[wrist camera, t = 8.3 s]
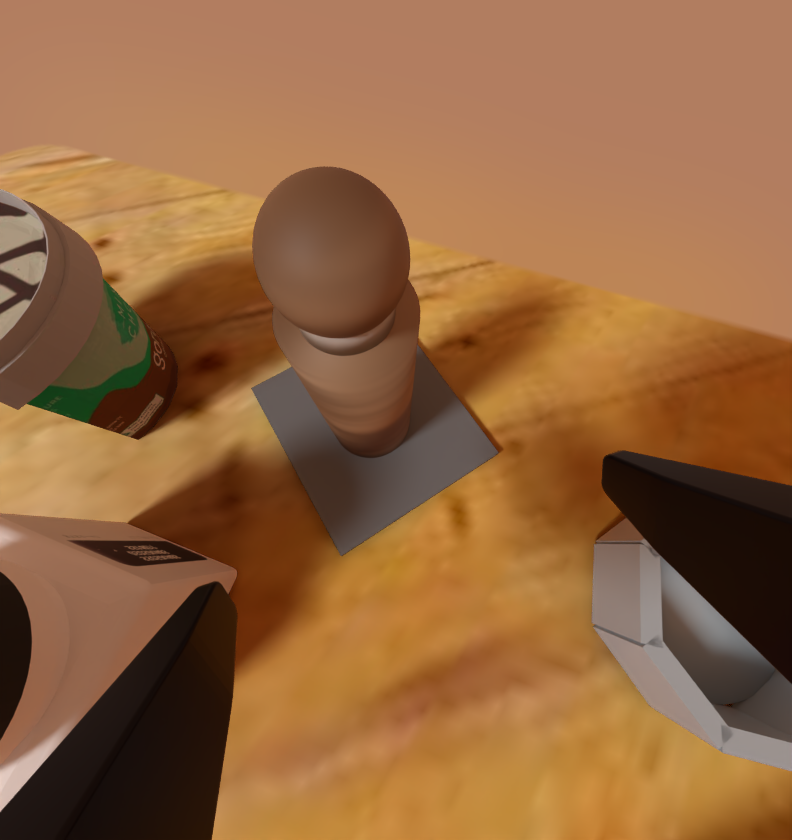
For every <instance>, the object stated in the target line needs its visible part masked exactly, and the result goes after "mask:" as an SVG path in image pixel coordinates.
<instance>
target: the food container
mask: <svg viewBox="0 0 792 840" xmlns="http://www.w3.org/2000/svg"><path fill="white" fill-rule="evenodd" d="M177 373H178V366H177V363H176V360H175V357H174V354H173V352H172V351H171V349H170V348H169V346H168V345H167V344H166V343H165V342H164V341H163V340H162V339H161V338H160V337H159V336H158V335H157V334H156V333H155V332H154V331H153V330H152V329H151V328H150V327H149V326H148V325H147V323H146V322H145V321H144V320H143V319H142V318H141V317H140V316H139V315H138V314H137V313H136V312H135V311H134V310H133V309H132V308H131V307H130V306H129V305H128V304H127V303H126V302H125V301H124V300H123V299H122V298H121V297H120V295H119V294H118V293H117V292H116V291H115V290H114V289H113V288H112V287H111V286H110V285H109V284H108V283H107V282H106V281H105V280H104V279H103V277H102V269H101V266H100V264H99V261H98V258H97V256H96V254H95V253H94V251H93V250H92V248H91V247H90V245H89V244H88V243H87V242H86V241H85V240H84V239H83V238H82V237H81V236H80V235H79V234H78V233H76V232H75V231H73V230H72V229H70V228H69V227H68V226H66V225H65V224H63V223H62V222H60V221H59V220H57V219H56V218H54V217H53V216H51V215H50V214H49V213H47V212H46V211H44V210H42V209H41V208H39V207H37V206H36V205H34V204H33V203H30V202H27V201H25V200H22V199H20V198H18V197H17V196H15V195H14V194H12V193H9V192H7V191H4V190H1V189H0V402H2V403H4V404H6V405H8V406H11V407H13V408H15V409H17V410H19V409H20V408H21V407H23V406H24V405H25V404H29V405H32V406H35V407H38V408H41V409H44V410H48V411H51V412H54V413H57V414H60V415H63V416H66V417H69V418H72V419H75V420H79V421H82V422H85V423H88V424H91V425H94V426H97V427H100V428H103V429H106V430H110V431H113V432H116V433H119V434H122V435H125V436H128V437H131V438H134V439H137V440H139V439H140V438H141V437H142V436H143V435H145V434H146V433H147V432H148V431H149V430H151V429H152V428H153V427H154V426H155V424H156V423H157V422H158V421H159V419H160V418H161V417H162V415H163V414H164V413H165V411H166V410H167V409H168V407H169V405H170V403H171V400H172V398H173V395H174V392H175V390H176V387H177Z"/></svg>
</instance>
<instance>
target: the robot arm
mask: <svg viewBox="0 0 792 840" xmlns="http://www.w3.org/2000/svg"><path fill="white" fill-rule="evenodd" d="M602 487H603V490H604V491H605V493H606V494H607V495H608V497H609V498H610V499H611V500H612V501H613V503H614V504H615V505H616V506H617V507H618V508H619V510H620V511H621V512H622V513H623V514H624V515H625V517H626V518H627V519H628V520H629V521H630V522H631V524H632V525H633V526H634V527H635V528H636V530H637V531H638V532H639V533H640V534H641V535H642V537H643V538H644V539H645V540H646V541H647V542H648V543H649V544H650V545H651V547H652V548H653V549H654V550H655V551H656V552H657V553H658V554H659V555H660V556H661V557H662V558H663V559H664V560H665V561H666V562H667V563H668V564H669V565H670V566H671V567H672V568H673V569H674V570H676V571H677V572H678V573H679V574H680V575H681V576H682V577H683V578H684V579H685V580H686V581H687V582H688V583H689V584H690V585H691V586H692V587H693V588H694V589H695V590H696V591H697V592H698V593H699V594H700V595H701V596H702V597H703V598H704V599H705V600H706V601H707V602H708V603H709V604H710V605H711V606H712V607H713V608H714V609H715V610H716V611H717V612H718V613H719V614H720V615H721V616H722V617H723V618H724V619H725V620H727V621H728V622H729V623H730V624H731V625H732V626H733V627H734V628H735V629H736V630H737V631H738V632H739V633H740V634H741V635H742V636H743V637H744V638H745V639H746V640H747V641H748V642H749V643H750V644H751V645H752V646H753V647H754V648H755V649H756V650H757V651H758V652H759V653H760V654H761V655H762V656H763V657H764V658H765V659H766V660H767V661H768V662H769V663H770V664H771V665H772V666H773V667H774V668H775V669H776V670H777V671H779V672H780V673H781V674H782V675H783V676H784V677H785V678H786V679H787V680H788V681H789V682H790V683H791V684H792V486H790V485H785V484H781V483H776V482H771V481H766V480H762V479H757V478H752V477H747V476H743V475H738V474H733V473H728V472H724V471H719V470H714V469H709V468H705V467H700V466H695V465H691V464H686V463H681V462H676V461H672V460H667V459H662V458H657V457H653V456H648V455H643V454H638V453H634V452H629V451H617V452H614V453H611V454H608V455H606V456H605V457H604V459H603V467H602ZM236 632H237V610H236V607H235V604H234V603H233V601H232V599H231V598H230V596H229V595H228V593H227V592H226V590H225V588H224V587H223V585H222V584H221V583H220V582H218V581H213V582H210V583H207V584H204V585H201V586H199V587H197V588H196V589H195V590H194V591H193V592H192V593H191V594H190V595H189V596H188V597H187V599H186V600H185V601H184V602H183V603H182V604H181V605H180V607H179V608H178V609H177V610H176V611H175V612H174V613H173V615H172V616H171V617H170V618H169V619H168V620H167V621H166V623H165V624H164V625H163V626H162V627H161V628H160V629H159V631H158V632H157V633H156V634H155V635H154V636H153V637H152V639H151V640H150V641H149V642H148V643H147V644H146V645H145V647H144V648H143V649H142V650H141V651H140V652H139V654H138V655H137V656H136V657H135V658H134V659H133V660H132V662H131V663H130V664H129V665H128V666H127V667H126V668H125V670H124V671H123V672H122V673H121V674H120V675H119V676H118V678H117V679H116V680H115V681H114V682H113V683H112V684H111V686H110V687H109V688H108V689H107V690H106V691H105V692H104V694H103V695H102V696H101V697H100V698H99V699H98V700H97V702H96V703H95V704H94V705H93V706H92V707H91V709H90V710H89V711H88V712H87V713H86V714H85V715H84V717H83V718H82V719H81V720H80V721H79V722H78V723H77V725H76V726H75V727H74V728H73V729H72V730H71V731H70V733H69V734H68V735H67V736H66V737H65V738H64V739H63V741H62V742H61V743H60V744H59V745H58V746H57V747H56V749H55V750H54V751H53V752H52V753H51V754H50V755H49V757H48V758H47V759H46V760H45V761H44V762H43V763H42V765H41V766H40V767H39V768H38V769H37V770H36V771H35V773H34V774H33V775H32V776H31V777H30V778H29V779H28V781H27V782H26V783H25V784H24V785H23V786H22V787H21V789H20V790H19V791H18V792H17V793H16V794H15V795H14V797H13V798H12V799H11V800H10V801H9V802H8V803H7V805H6V806H5V807H4V808H3V809H2V810H1V812H0V840H212V834H213V827H214V820H215V814H216V807H217V801H218V794H219V787H220V781H221V774H222V767H223V761H224V754H225V747H226V741H227V734H228V727H229V721H230V714H231V707H232V699H233V688H234V671H235V652H236Z"/></svg>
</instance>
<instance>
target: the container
mask: <svg viewBox="0 0 792 840" xmlns="http://www.w3.org/2000/svg"><path fill="white" fill-rule="evenodd" d="M236 577H237V570H236V569H234V568H233V567H231V566H228V565H226V564H223V563H221V562H219V561H216V560H214V559H211V558H209V557H207V556H204V555H202V554H199V553H197V552H195V551H192V550H190V549H187V548H185V547H183V546H180V545H178V544H175V543H173V542H171V541H168V540H166V539H163V538H161V537H158V536H156V535H154V534H151V533H149V532H146V531H144V530H142V529H139V528H137V527H134V526H132V525H130V524H127V523H123V522H110V521H96V520H83V519H69V518H56V517H42V516H29V515H15V514H2V513H0V812H1V810H2V809H3V808H4V807H5V806H6V805H7V803H8V802H9V801H10V800H11V799H12V798H13V797H14V795H15V794H16V793H17V792H18V791H19V790H20V789H21V787H22V786H23V785H24V784H25V783H26V782H27V781H28V779H29V778H30V777H31V776H32V775H33V774H34V773H35V771H36V770H37V769H38V768H39V767H40V766H41V765H42V763H43V762H44V761H45V760H46V759H47V758H48V757H49V755H50V754H51V753H52V752H53V751H54V750H55V749H56V747H57V746H58V745H59V744H60V743H61V742H62V741H63V739H64V738H65V737H66V736H67V735H68V734H69V733H70V731H71V730H72V729H73V728H74V727H75V726H76V725H77V723H78V722H79V721H80V720H81V719H82V718H83V717H84V715H85V714H86V713H87V712H88V711H89V710H90V709H91V707H92V706H93V705H94V704H95V703H96V702H97V700H98V699H99V698H100V697H101V696H102V695H103V694H104V692H105V691H106V690H107V689H108V688H109V687H110V686H111V684H112V683H113V682H114V681H115V680H116V679H117V678H118V676H119V675H120V674H121V673H122V672H123V671H124V670H125V668H126V667H127V666H128V665H129V664H130V663H131V662H132V660H133V659H134V658H135V657H136V656H137V655H138V654H139V652H140V651H141V650H142V649H143V648H144V647H145V645H146V644H147V643H148V642H149V641H150V640H151V639H152V637H153V636H154V635H155V634H156V633H157V632H158V631H159V629H160V628H161V627H162V626H163V625H164V624H165V623H166V621H167V620H168V619H169V618H170V617H171V616H172V615H173V613H174V612H175V611H176V610H177V609H178V608H179V607H180V605H181V604H182V603H183V602H184V601H185V600H186V599H187V597H188V596H189V595H190V594H191V593H192V592H193V591H194V590H195V589H196V588H197V587H199V586H201V585H204V584H207V583H210V582H213V581H218V582H220V583H221V584H222V585H223V587H224V588H225V590H226V592H227V593H228V594H229V592H230V590H231V588H232V586H233V584H234V582H235V579H236Z"/></svg>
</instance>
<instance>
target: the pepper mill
mask: <svg viewBox="0 0 792 840" xmlns="http://www.w3.org/2000/svg"><path fill="white" fill-rule="evenodd" d="M252 248H253V260H254V265H255V269H256V273H257V276H258V279H259V282H260V284H261V286H262V288H263V290H264V292H265V294H266V296H267V297H268V299H269V300H270V302H271V303H272V305H273V306H274V308H273V313H272V325H273V331H274V335H275V338H276V341H277V343H278V345H279V347H280V348H281V350H282V352H283V353H284V355H285V356H286V358H287V360H288V361H289V363H290V364H291V366H292V368H293V369H294V371H295V372H296V374H297V376H298V377H299V379H300V380H301V382H302V384H303V385H304V387H305V388H306V390H307V392H308V393H309V395H310V396H311V398H312V400H313V401H314V403H315V404H316V406H317V408H318V409H319V411H320V412H321V414H322V416H323V417H324V419H325V420H326V422H327V424H328V425H329V427H330V428H331V430H332V432H333V433H334V435H335V436H336V438H337V440H338V441H339V443H340V444H341V445H342V446H343V447H344V448H345V449H346V450H347V451H349V452H350V453H352V454H354V455H356V456H359V457H364V458H377V457H382V456H384V455H387V454H389V453H391V452H392V451H394V450H395V449H396V448H397V447H399V446H400V444H401V443H402V442H403V440H404V439H405V437H406V435H407V432H408V429H409V423H410V413H411V403H412V393H413V383H414V373H415V363H416V354H417V344H418V334H419V324H420V305H419V300H418V297H417V294H416V292H415V290H414V288H413V286H412V284H411V283H410V281H409V280H408V276H409V270H410V248H409V242H408V237H407V233H406V230H405V227H404V224H403V222H402V219H401V218H400V215H399V213H398V212H397V210H396V209H395V207H394V205H393V204H392V202H391V201H390V200H389V199H388V197H387V196H386V195H385V194H384V193H383V192H382V191H381V190H380V189H379V188H378V187H377V186H376V185H374V184H373V183H372V182H370V181H369V180H367V179H366V178H364V177H363V176H361V175H359V174H356V173H354V172H351V171H349V170H346V169H342V168H336V167H315V168H309V169H306V170H302V171H300V172H297V173H295V174H293V175H291V176H289V177H288V178H286V179H285V180H283V181H282V182H281V183H280V184H279V185H278V186H277V187H276V188H274V190H273V191H272V192H271V193H270V194H269V195H268V197H267V198H266V200H265V202H264V203H263V205H262V207H261V209H260V211H259V213H258V216H257V219H256V222H255V227H254V232H253V244H252Z"/></svg>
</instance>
